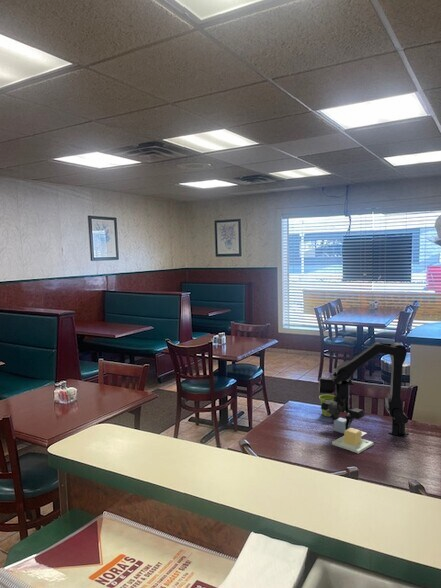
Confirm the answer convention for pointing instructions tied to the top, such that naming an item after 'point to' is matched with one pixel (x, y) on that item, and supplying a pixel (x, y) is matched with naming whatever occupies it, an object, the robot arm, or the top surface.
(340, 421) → the slate brick
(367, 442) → the base board
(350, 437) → the yellow cube
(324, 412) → the plant pot
